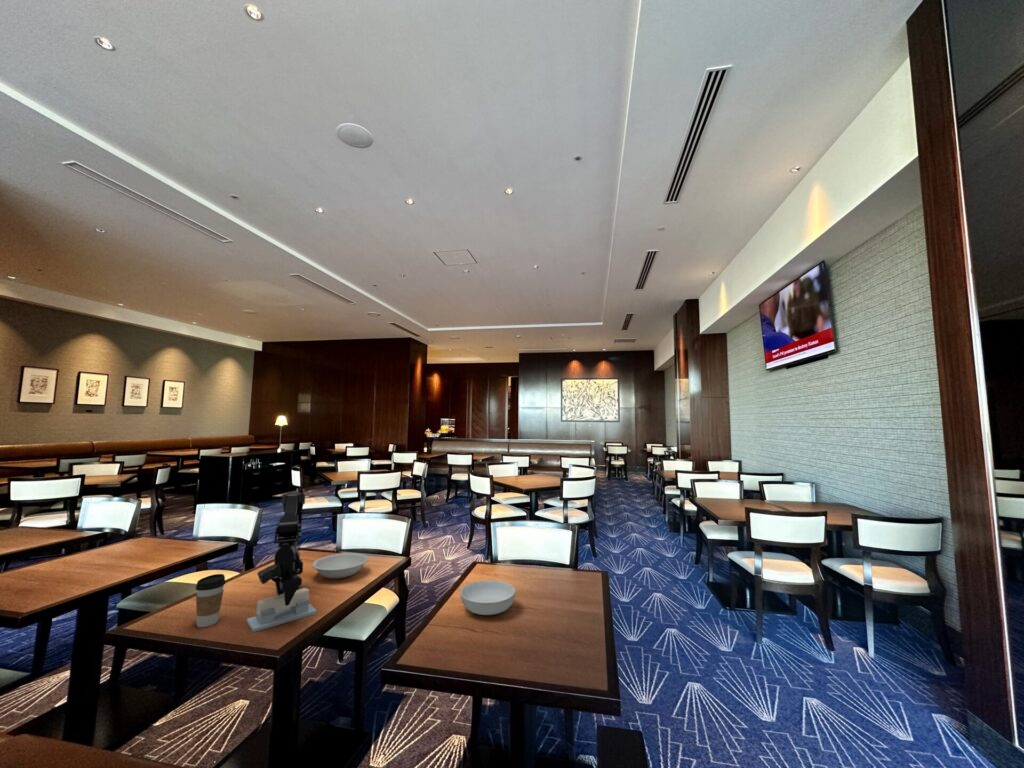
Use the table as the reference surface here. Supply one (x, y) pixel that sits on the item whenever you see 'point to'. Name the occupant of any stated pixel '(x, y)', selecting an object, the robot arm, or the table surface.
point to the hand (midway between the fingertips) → (283, 601)
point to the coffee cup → (209, 599)
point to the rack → (280, 615)
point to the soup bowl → (340, 564)
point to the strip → (281, 601)
